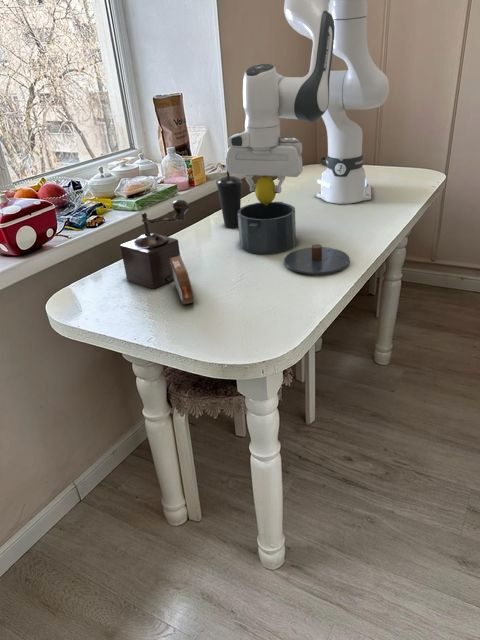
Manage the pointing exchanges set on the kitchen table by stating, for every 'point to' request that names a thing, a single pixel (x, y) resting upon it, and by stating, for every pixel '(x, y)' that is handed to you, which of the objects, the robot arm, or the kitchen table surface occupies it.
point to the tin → (181, 280)
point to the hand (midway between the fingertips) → (265, 192)
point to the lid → (317, 260)
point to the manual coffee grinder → (152, 252)
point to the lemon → (265, 190)
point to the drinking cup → (230, 199)
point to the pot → (267, 227)
